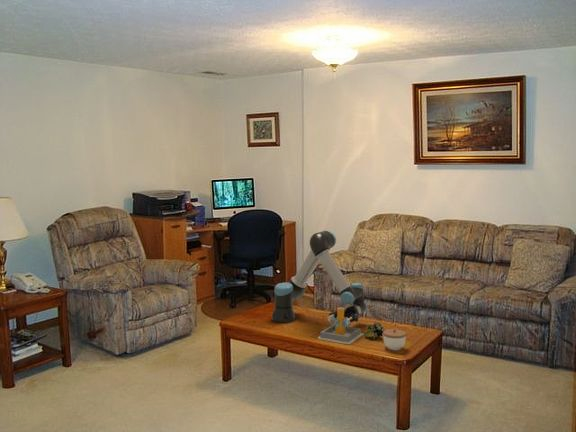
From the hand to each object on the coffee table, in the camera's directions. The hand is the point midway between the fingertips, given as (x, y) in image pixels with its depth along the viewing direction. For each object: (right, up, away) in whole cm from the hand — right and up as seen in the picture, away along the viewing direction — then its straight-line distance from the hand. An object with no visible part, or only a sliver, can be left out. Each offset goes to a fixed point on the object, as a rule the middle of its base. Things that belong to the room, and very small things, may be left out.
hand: (337, 320), depth 335 cm
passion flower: (+22, -11, +3) cm, 25 cm away
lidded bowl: (+30, -13, -15) cm, 36 cm away
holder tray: (+2, -11, +5) cm, 12 cm away
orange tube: (+2, -8, +4) cm, 10 cm away
